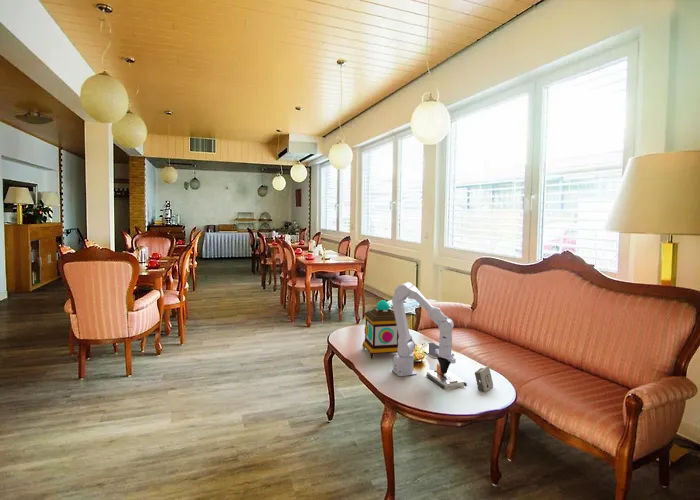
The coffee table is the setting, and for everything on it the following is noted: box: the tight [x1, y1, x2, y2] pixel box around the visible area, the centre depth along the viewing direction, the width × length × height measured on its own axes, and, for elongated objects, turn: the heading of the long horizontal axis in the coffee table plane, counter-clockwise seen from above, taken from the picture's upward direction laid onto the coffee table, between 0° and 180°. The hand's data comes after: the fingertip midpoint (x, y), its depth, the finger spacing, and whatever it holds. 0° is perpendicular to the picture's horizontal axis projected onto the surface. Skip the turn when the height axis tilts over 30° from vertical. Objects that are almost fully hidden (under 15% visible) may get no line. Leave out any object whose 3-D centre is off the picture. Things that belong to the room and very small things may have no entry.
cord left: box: [425, 373, 445, 390], centre depth 190 cm, size 14×1×1 cm, turn 20°
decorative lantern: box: [362, 299, 399, 360], centre depth 227 cm, size 20×20×30 cm
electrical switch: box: [474, 365, 494, 393], centre depth 185 cm, size 9×5×9 cm, turn 141°
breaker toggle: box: [436, 363, 443, 374], centre depth 195 cm, size 2×3×4 cm
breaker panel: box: [426, 369, 465, 390], centre depth 191 cm, size 10×16×3 cm, turn 20°
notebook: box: [421, 342, 455, 359], centre depth 233 cm, size 13×2×21 cm
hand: (444, 373), depth 192 cm, fingers closed
